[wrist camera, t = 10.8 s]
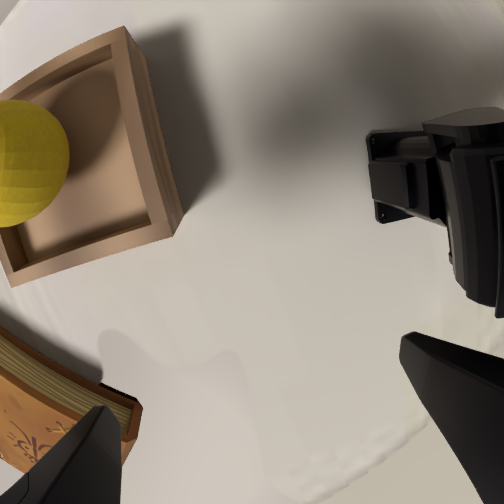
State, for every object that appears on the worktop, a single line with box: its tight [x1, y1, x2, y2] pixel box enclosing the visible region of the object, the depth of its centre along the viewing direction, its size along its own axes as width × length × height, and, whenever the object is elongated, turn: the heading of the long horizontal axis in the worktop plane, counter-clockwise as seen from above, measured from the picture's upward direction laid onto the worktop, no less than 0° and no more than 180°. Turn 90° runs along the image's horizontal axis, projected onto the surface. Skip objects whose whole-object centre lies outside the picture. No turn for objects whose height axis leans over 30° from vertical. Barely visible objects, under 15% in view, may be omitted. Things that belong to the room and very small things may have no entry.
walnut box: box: [0, 26, 184, 288], centre depth 14 cm, size 11×11×6 cm
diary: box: [0, 326, 143, 473], centre depth 20 cm, size 23×19×6 cm
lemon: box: [0, 100, 70, 227], centre depth 8 cm, size 6×6×8 cm
